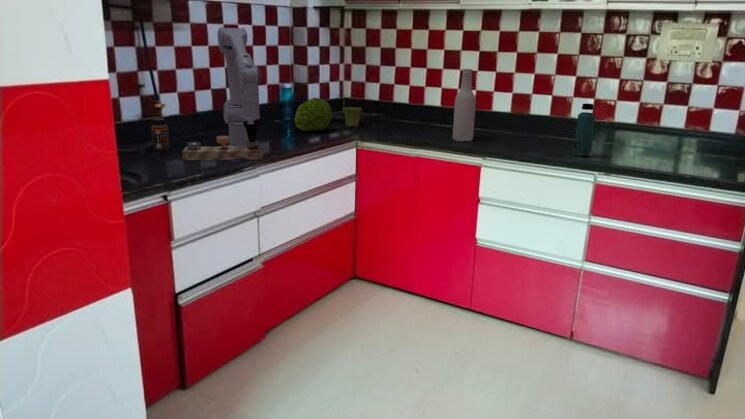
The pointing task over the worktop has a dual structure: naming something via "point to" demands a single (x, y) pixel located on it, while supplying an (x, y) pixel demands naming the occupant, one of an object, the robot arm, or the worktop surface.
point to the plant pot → (352, 116)
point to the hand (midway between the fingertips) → (252, 141)
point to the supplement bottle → (160, 135)
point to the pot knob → (223, 140)
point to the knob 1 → (194, 145)
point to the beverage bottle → (584, 130)
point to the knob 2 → (252, 144)
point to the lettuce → (313, 115)
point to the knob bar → (223, 153)
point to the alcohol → (464, 109)
